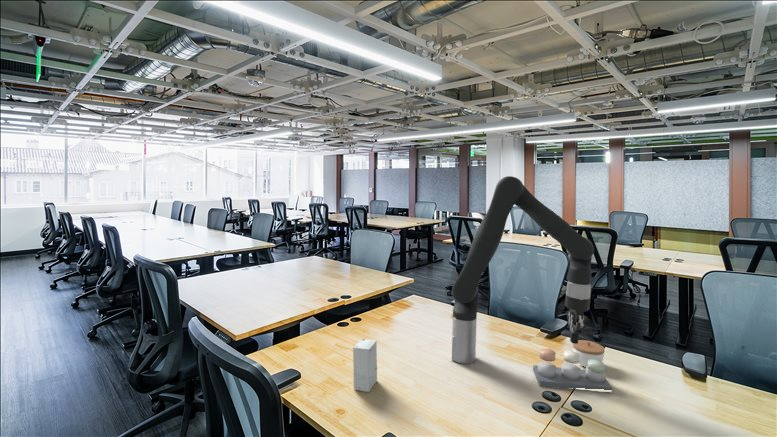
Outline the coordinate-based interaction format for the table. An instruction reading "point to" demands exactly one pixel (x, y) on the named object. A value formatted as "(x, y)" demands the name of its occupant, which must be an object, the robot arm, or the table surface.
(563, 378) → the control board
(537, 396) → the table surface
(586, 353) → the lidded jar
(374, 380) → the skincare box
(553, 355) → the knob
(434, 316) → the table surface
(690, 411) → the table surface
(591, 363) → the knob
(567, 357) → the knob mid
